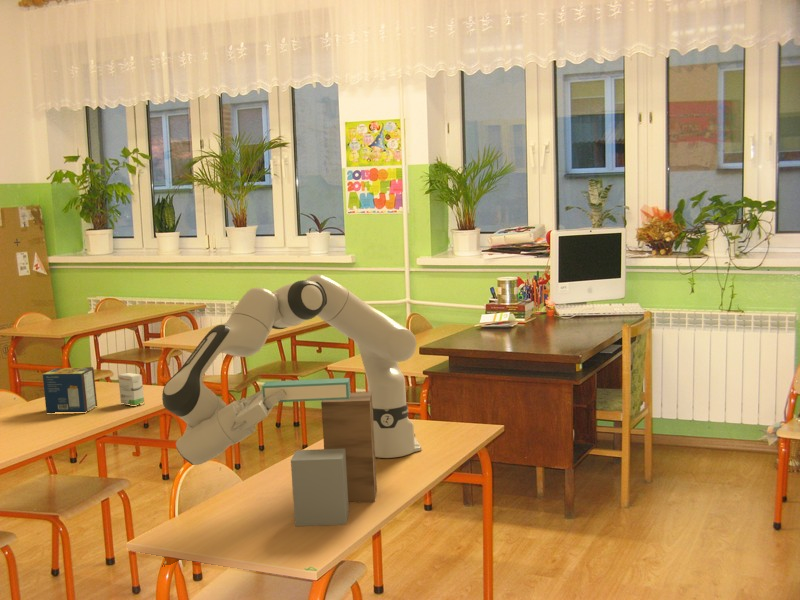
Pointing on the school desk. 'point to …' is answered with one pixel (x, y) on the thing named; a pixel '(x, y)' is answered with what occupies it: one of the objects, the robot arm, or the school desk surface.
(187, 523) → the school desk surface
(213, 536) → the school desk surface
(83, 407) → the protein box
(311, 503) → the step
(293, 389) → the book
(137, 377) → the ink box
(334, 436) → the bookcase block
